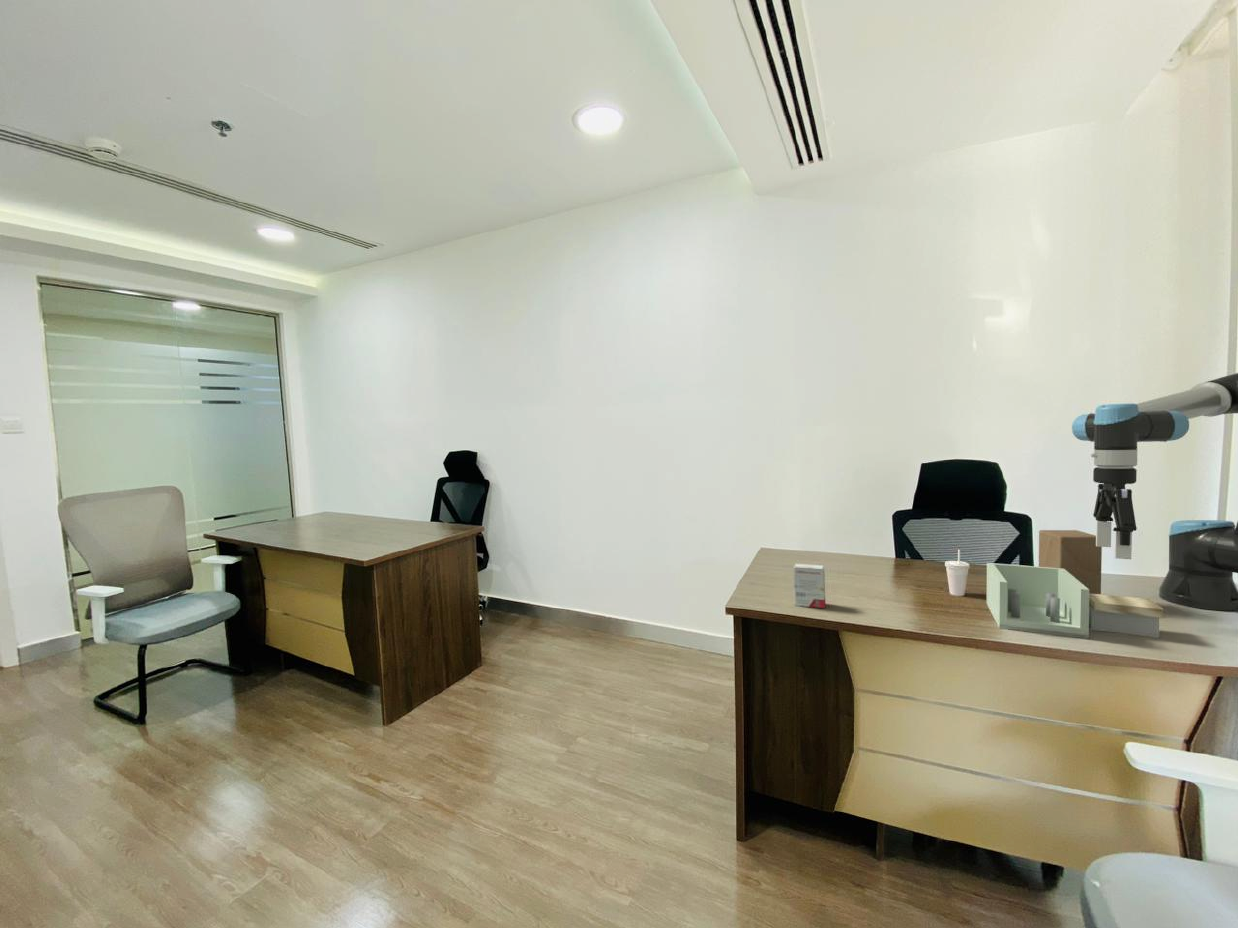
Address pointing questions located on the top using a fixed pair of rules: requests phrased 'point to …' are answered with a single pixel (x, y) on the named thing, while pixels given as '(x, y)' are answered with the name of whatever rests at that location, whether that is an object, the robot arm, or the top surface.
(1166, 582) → the robot arm
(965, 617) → the top surface
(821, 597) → the ink box
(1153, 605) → the shelf board
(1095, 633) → the top surface
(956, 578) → the smoothie
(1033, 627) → the light green open box
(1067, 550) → the wooden block
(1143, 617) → the block
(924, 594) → the top surface
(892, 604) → the top surface
